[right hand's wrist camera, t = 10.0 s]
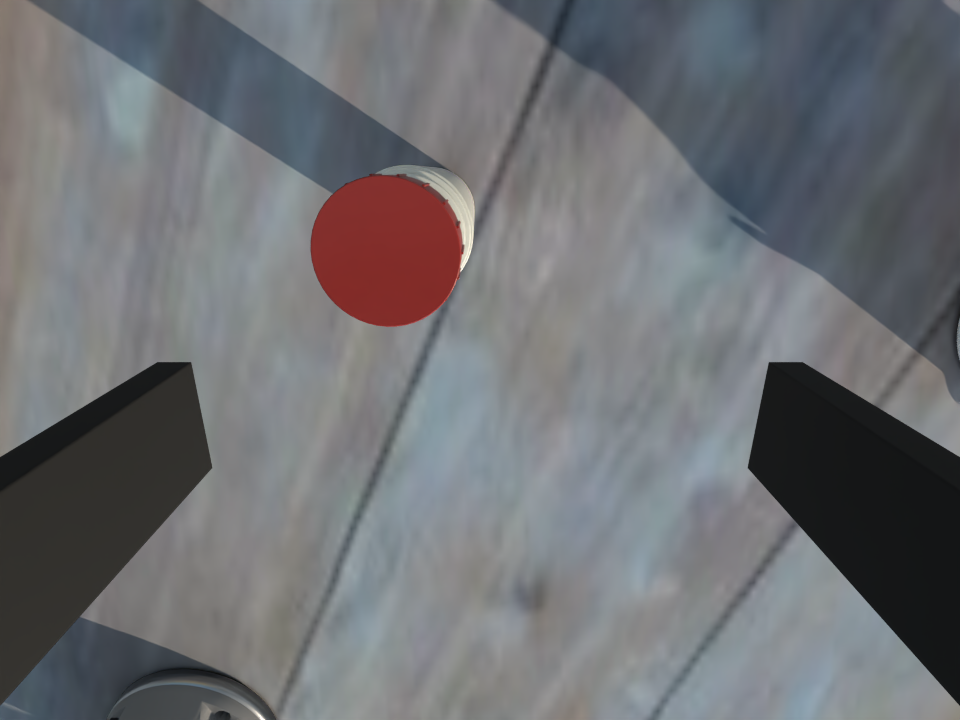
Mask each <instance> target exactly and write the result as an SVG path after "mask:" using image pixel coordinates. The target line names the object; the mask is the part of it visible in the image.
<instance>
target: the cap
mask: <svg viewBox="0 0 960 720" xmlns="http://www.w3.org/2000/svg"><path fill="white" fill-rule="evenodd" d="M369 175H370V176H368V177H363V178H360V179H357V180H354V181H352V182H350V183H346V184H345V185H344V186H343V187H341V188H340V189H338V190H337V191H336V192H335V193H334V194H333V195H331V196H330V198H329V199H328V200H327V201H326V202H325V203H324V205H323V207H322V208H321V210H320V211H319V213H318V215H317V218H316V220H315V223H314V226H313V230H312V236H311V257H312V263H313V267H314V271H315V273H316V276H317V278H318V281H319V282H320V284H321V286H322V288H323V289H324V291H325V292H326V294H327V295H328V296H329V298H330V299H331V300H332V301H333V302H334V303H335V304H336V305H337V306H338V307H339V308H341V309H342V310H343V311H344V312H346V313H347V314H349V315H350V316H352V317H354V318H356V319H358V320H360V321H363V322H366V323H369V324H373V325H377V326H386V327H394V326H403V325H408V324H411V323H415V322H417V321H419V320H422V319H424V318H425V317H427V316H429V315H430V314H432V313H433V312H434V311H436V310H437V309H438V308H439V307H440V306H441V305H442V304H443V303H444V302H445V301H446V300H447V298H448V296H449V295H450V293H451V291H452V290H453V288H454V286H455V283H456V281H457V279H458V280H459V276H460V270H461V268H460V265H461V259H462V254H463V253H464V247H465V245H464V244H463V239H462V232H461V228H460V223H461V222H460V221H458V219H457V217H456V214H455V213H454V211H453V209H452V207H451V206H450V204H449V203H448V201H449V200H448V199H445V198H444V197H443V196H442V195H441V194H440V193H439V192H438V191H436V190H435V189H434V188H432V187H431V186H429V185H430V183H424V182H422V181H420V180H418V179H415V178H412V177H408V176H407V174H397V175H382V174H369Z"/></svg>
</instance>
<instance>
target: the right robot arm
mask: <svg viewBox="0 0 960 720" xmlns="http://www.w3.org/2000/svg"><path fill="white" fill-rule="evenodd" d="M211 469H212V464H211V459H210V454H209V449H208V444H207V439H206V434H205V429H204V424H203V419H202V414H201V409H200V404H199V399H198V394H197V389H196V384H195V379H194V374H193V369H192V364H191V362H157V363H155V364H154V365H152V366H150V367H149V368H147V369H145V370H144V371H142V372H141V373H139V374H137V375H136V376H134V377H132V378H131V379H129V380H127V381H126V382H124V383H122V384H121V385H119V386H117V387H116V388H114V389H112V390H111V391H109V392H107V393H106V394H104V395H102V396H101V397H99V398H97V399H96V400H94V401H92V402H91V403H89V404H88V405H86V406H84V407H83V408H81V409H79V410H78V411H76V412H74V413H73V414H71V415H69V416H68V417H66V418H64V419H63V420H61V421H59V422H58V423H56V424H54V425H53V426H51V427H49V428H48V429H46V430H44V431H43V432H41V433H39V434H38V435H36V436H35V437H33V438H31V439H30V440H28V441H26V442H25V443H23V444H21V445H20V446H18V447H16V448H15V449H13V450H11V451H10V452H8V453H6V454H5V455H3V456H1V457H0V705H1V704H2V703H3V702H4V701H5V700H6V699H7V697H8V696H9V695H10V694H11V693H12V692H13V691H14V690H15V688H16V687H17V686H18V685H19V684H20V683H21V682H22V681H23V680H24V678H25V677H26V676H27V675H28V674H29V673H30V672H31V671H32V669H33V668H34V667H35V666H36V665H37V664H38V663H39V662H40V660H41V659H42V658H43V657H44V656H45V655H46V654H47V653H48V651H49V650H50V649H51V648H52V647H53V646H54V645H55V644H56V642H57V641H58V640H59V639H60V638H61V637H62V636H63V635H64V634H65V632H66V631H67V630H68V629H69V628H70V627H71V626H72V625H73V623H74V622H75V621H76V620H77V619H78V618H79V617H80V616H81V614H82V613H83V612H84V611H85V610H86V609H87V608H88V607H89V605H90V604H91V603H92V602H93V601H94V600H95V599H96V598H97V597H98V595H99V594H100V593H101V592H102V591H103V590H104V589H105V588H106V586H107V585H108V584H109V583H110V582H111V581H112V580H113V579H114V577H115V576H116V575H117V574H118V573H119V572H120V571H121V570H122V568H123V567H124V566H125V565H126V564H127V563H128V562H129V561H130V559H131V558H132V557H133V556H134V555H135V554H136V553H137V552H138V551H139V549H140V548H141V547H142V546H143V545H144V544H145V543H146V542H147V540H148V539H149V538H150V537H151V536H152V535H153V534H154V533H155V531H156V530H157V529H158V528H159V527H160V526H161V525H162V524H163V522H164V521H165V520H166V519H167V518H168V517H169V516H170V515H171V514H172V512H173V511H174V510H175V509H176V508H177V507H178V506H179V505H180V503H181V502H182V501H183V500H184V499H185V498H186V497H187V496H188V494H189V493H190V492H191V491H192V490H193V489H194V488H195V487H196V485H197V484H198V483H199V482H200V481H201V480H202V479H203V478H204V477H205V475H206V474H207V473H208V472H209V471H210V470H211ZM748 469H749V470H750V471H751V472H752V473H753V474H754V475H755V477H756V478H757V479H758V480H759V481H760V482H761V483H762V484H763V485H764V487H765V488H766V489H767V490H768V491H769V492H770V493H771V494H772V496H773V497H774V498H775V499H776V500H777V501H778V502H779V503H780V505H781V506H782V507H783V508H784V509H785V510H786V511H787V512H788V514H789V515H790V516H791V517H792V518H793V519H794V520H795V521H796V522H797V524H798V525H799V526H800V527H801V528H802V529H803V530H804V531H805V533H806V534H807V535H808V536H809V537H810V538H811V539H812V540H813V542H814V543H815V544H816V545H817V546H818V547H819V548H820V549H821V551H822V552H823V553H824V554H825V555H826V556H827V557H828V558H829V559H830V561H831V562H832V563H833V564H834V565H835V566H836V567H837V568H838V570H839V571H840V572H841V573H842V574H843V575H844V576H845V577H846V579H847V580H848V581H849V582H850V583H851V584H852V585H853V586H854V588H855V589H856V590H857V591H858V592H859V593H860V594H861V595H862V597H863V598H864V599H865V600H866V601H867V602H868V603H869V604H870V605H871V607H872V608H873V609H874V610H875V611H876V612H877V613H878V614H879V616H880V617H881V618H882V619H883V620H884V621H885V622H886V623H887V625H888V626H889V627H890V628H891V629H892V630H893V631H894V632H895V634H896V635H897V636H898V637H899V638H900V639H901V640H902V641H903V642H904V644H905V645H906V646H907V647H908V648H909V649H910V650H911V651H912V653H913V654H914V655H915V656H916V657H917V658H918V659H919V660H920V662H921V663H922V664H923V665H924V666H925V667H926V668H927V669H928V671H929V672H930V673H931V674H932V675H933V676H934V677H935V678H936V680H937V681H938V682H939V683H940V684H941V685H942V686H943V687H944V688H945V690H946V691H947V692H948V693H949V694H950V695H951V696H952V697H953V699H954V700H955V701H956V702H957V703H958V704H959V705H960V457H959V456H957V455H955V454H954V453H952V452H950V451H949V450H947V449H945V448H944V447H942V446H940V445H939V444H937V443H935V442H934V441H932V440H930V439H929V438H927V437H925V436H924V435H922V434H921V433H919V432H917V431H916V430H914V429H912V428H911V427H909V426H907V425H906V424H904V423H902V422H901V421H899V420H897V419H896V418H894V417H892V416H891V415H889V414H887V413H886V412H884V411H882V410H881V409H879V408H877V407H876V406H874V405H872V404H871V403H869V402H868V401H866V400H864V399H863V398H861V397H859V396H858V395H856V394H854V393H853V392H851V391H849V390H848V389H846V388H844V387H843V386H841V385H839V384H838V383H836V382H834V381H833V380H831V379H829V378H828V377H826V376H824V375H823V374H821V373H819V372H818V371H816V370H815V369H813V368H811V367H810V366H808V365H806V364H805V363H803V362H769V364H768V369H767V374H766V379H765V384H764V389H763V394H762V399H761V404H760V409H759V414H758V419H757V424H756V429H755V434H754V439H753V444H752V449H751V454H750V459H749V464H748ZM107 720H276V718H275V716H274V714H273V713H272V711H271V709H270V708H269V707H268V705H267V704H266V703H265V702H264V701H263V700H262V699H261V698H260V697H259V696H258V695H257V694H256V693H254V692H253V691H252V690H250V689H249V688H247V687H246V686H244V685H242V684H240V683H238V682H236V681H234V680H232V679H230V678H227V677H225V676H222V675H219V674H215V673H211V672H206V671H201V670H192V669H175V670H166V671H161V672H157V673H153V674H150V675H148V676H145V677H143V678H141V679H139V680H138V681H136V682H134V683H133V684H132V685H130V686H129V687H128V688H127V689H126V690H125V691H124V693H123V694H122V695H121V697H120V698H119V700H118V701H117V703H116V704H115V705H114V707H113V708H112V710H111V711H110V713H109V715H108V717H107Z"/></svg>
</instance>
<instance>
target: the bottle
mask: <svg viewBox="0 0 960 720" xmlns="http://www.w3.org/2000/svg"><path fill="white" fill-rule="evenodd" d="M375 174H382V175H397V174H407V176H408V177H412V178H415V179H418V180H420V181H422V182H424V183H430V185H429V186H431V187H432V188H434V189H435V190H436V191H438V192H439V193H440V194H441V195H442V196H443V197H444V198H445V199H448V200H449V201H448V203H449V204H450V206H451V207H452V209H453V211H454V213H455V214H456V217H457V219H458V221H460V222H461V223H460V228H461V232H462V239H463V244H464V245H465V247H464V253H463V254H462V259H461V265H460V268H461V270H462V269H463V268H464V266H465V264H466V262H467V260H468V258H469V255H470V252H471V248H472V243H473V232H474V213H475V210H474V201H473V197H472V195H471V192H470V190H469V188H468V187H467V185H466V184H465V183H464V181H463V180H462V179H461V178H460V177H458V176H457V175H456V174H454V173H453V172H451V171H448V170H446V169H443V168H437V167H427V166H416V165H399V166H392V167H389V168H386V169H383V170H381V171H379V172H377V173H375ZM461 270H460V272H461Z"/></svg>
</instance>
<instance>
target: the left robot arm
mask: <svg viewBox="0 0 960 720" xmlns="http://www.w3.org/2000/svg"><path fill="white" fill-rule="evenodd" d="M957 350H958V356H959V360H960V318H959V323H958V330H957Z"/></svg>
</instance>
